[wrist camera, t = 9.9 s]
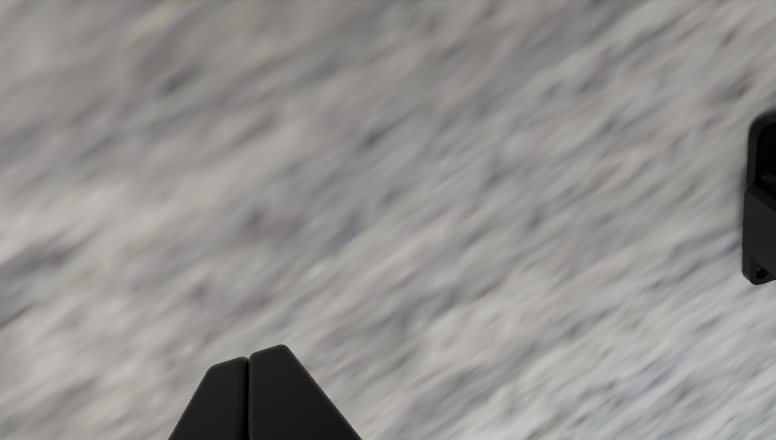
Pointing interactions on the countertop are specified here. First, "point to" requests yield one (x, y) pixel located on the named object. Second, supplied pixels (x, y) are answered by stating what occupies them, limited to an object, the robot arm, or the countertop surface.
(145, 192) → the countertop surface
